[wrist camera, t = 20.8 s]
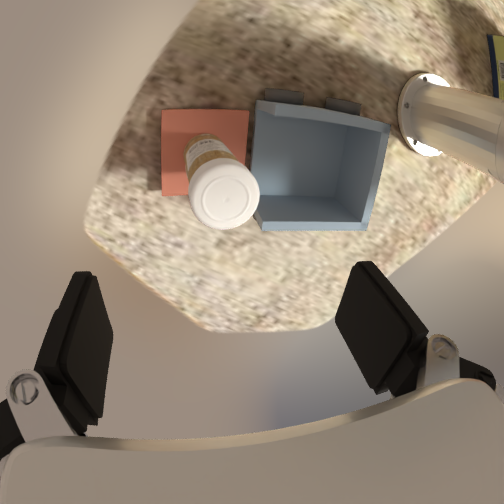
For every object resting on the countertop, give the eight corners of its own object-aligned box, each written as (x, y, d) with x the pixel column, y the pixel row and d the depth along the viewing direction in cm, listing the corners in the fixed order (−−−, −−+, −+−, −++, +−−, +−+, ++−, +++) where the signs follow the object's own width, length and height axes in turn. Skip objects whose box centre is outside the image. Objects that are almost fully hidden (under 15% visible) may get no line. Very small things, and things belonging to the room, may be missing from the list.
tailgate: (249, 111, 27) (161, 110, 25) (242, 193, 32) (162, 196, 30) (246, 110, 28) (162, 109, 26) (240, 190, 33) (162, 192, 31)
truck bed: (353, 103, 30) (393, 111, 23) (333, 211, 38) (363, 241, 31) (257, 87, 27) (277, 87, 21) (245, 210, 35) (260, 243, 29)
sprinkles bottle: (186, 176, 30) (195, 237, 19) (180, 136, 27) (184, 171, 16) (228, 169, 30) (263, 225, 20) (224, 129, 28) (259, 160, 17)
